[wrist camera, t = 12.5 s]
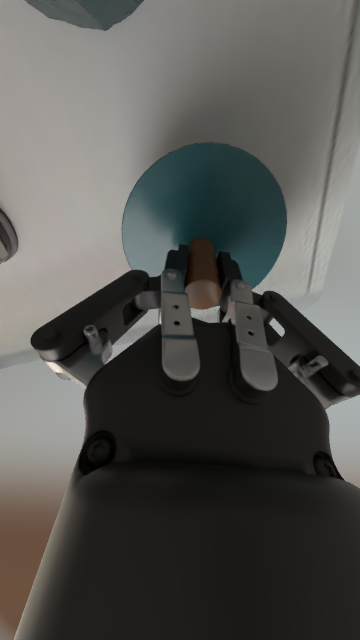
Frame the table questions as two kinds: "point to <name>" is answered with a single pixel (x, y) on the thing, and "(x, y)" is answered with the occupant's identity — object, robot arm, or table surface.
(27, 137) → the table surface
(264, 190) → the lid
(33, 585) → the robot arm
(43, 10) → the pot
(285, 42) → the table surface
